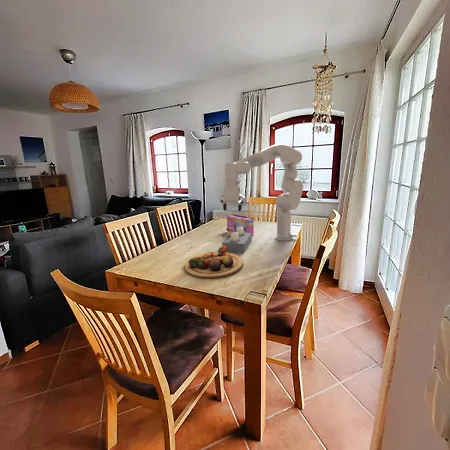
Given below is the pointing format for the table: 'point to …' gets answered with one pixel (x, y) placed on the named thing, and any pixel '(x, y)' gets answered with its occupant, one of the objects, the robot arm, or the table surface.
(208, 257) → the wooden plate with food
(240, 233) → the knob
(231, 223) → the gum box
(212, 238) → the table surface
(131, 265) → the table surface
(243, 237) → the panel
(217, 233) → the table surface
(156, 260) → the table surface
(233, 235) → the knob
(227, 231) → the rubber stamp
